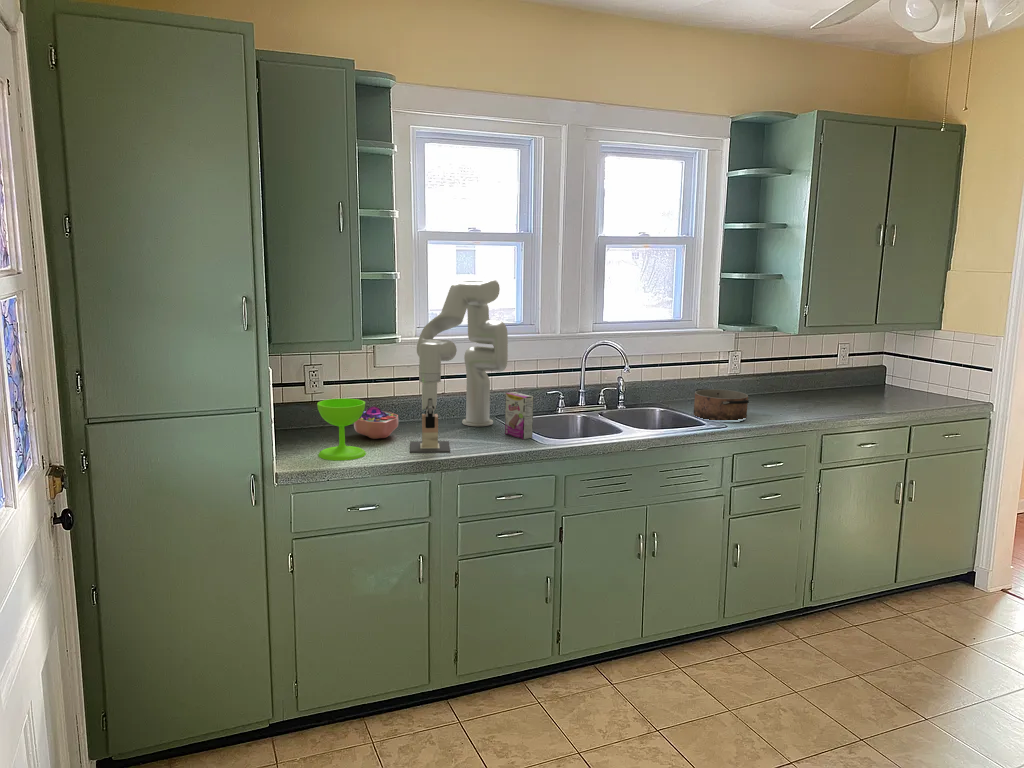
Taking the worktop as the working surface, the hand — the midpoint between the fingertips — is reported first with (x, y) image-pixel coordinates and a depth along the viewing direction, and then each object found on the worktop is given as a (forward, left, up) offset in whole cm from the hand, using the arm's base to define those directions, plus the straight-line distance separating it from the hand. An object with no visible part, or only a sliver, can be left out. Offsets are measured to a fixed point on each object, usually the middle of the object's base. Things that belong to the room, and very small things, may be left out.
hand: (429, 424), depth 276 cm
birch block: (0, 0, -8) cm, 8 cm away
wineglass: (+8, -30, -9) cm, 32 cm away
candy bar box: (-16, +34, -9) cm, 39 cm away
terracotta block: (0, 0, -2) cm, 2 cm away
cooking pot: (-47, +127, -9) cm, 136 cm away
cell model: (-16, -20, -9) cm, 27 cm away
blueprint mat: (0, 0, -8) cm, 8 cm away
